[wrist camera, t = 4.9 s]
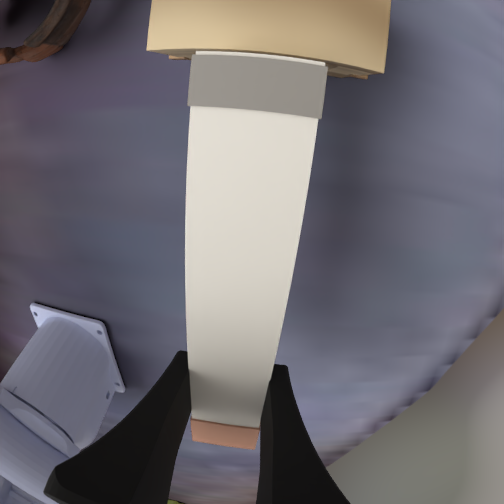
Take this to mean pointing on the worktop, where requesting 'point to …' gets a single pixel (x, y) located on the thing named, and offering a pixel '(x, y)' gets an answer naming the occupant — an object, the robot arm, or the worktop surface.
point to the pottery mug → (49, 33)
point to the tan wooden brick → (277, 30)
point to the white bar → (243, 227)
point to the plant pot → (173, 502)
